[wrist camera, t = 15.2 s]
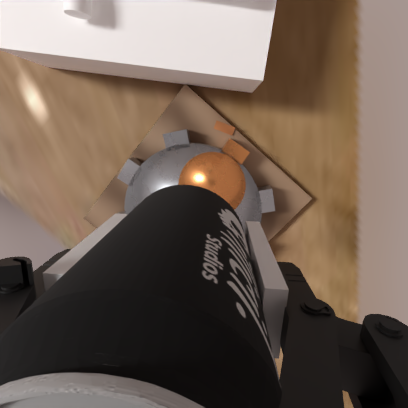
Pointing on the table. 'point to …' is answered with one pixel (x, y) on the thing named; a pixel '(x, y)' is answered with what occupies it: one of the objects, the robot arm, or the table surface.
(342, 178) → the table surface
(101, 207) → the board
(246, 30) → the tissue box
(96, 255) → the beverage can
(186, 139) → the sprocket
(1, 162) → the table surface
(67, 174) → the table surface
